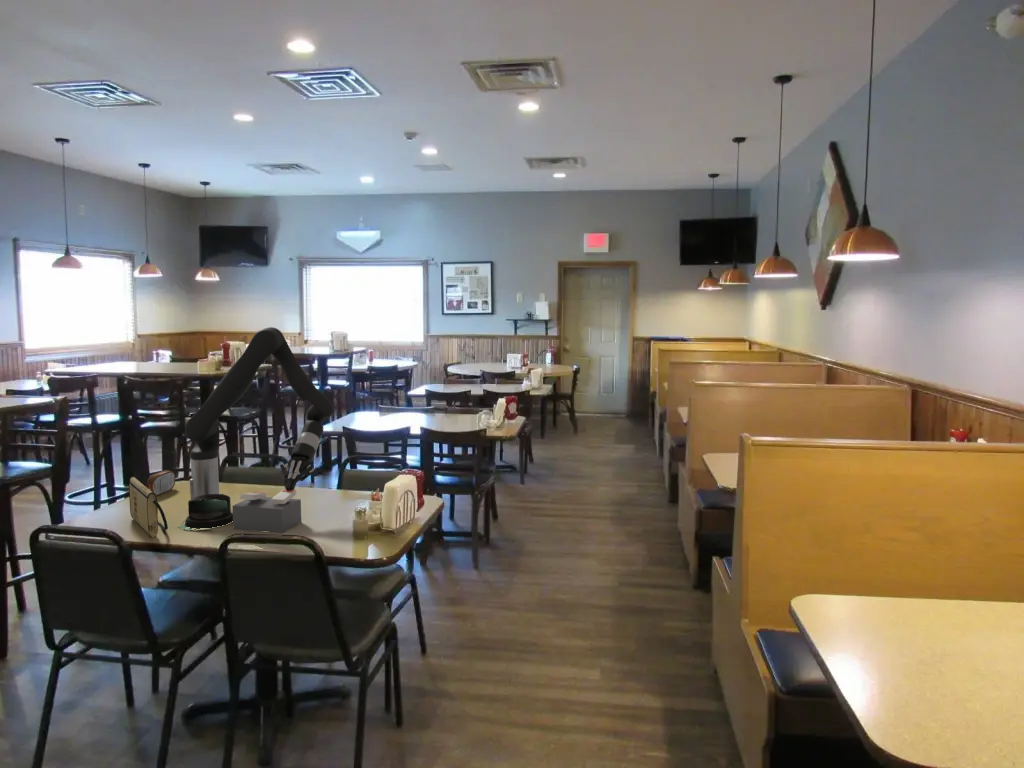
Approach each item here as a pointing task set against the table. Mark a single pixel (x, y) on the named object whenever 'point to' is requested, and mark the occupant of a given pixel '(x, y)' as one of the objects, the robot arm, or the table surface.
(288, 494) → the right rocker
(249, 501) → the switch box
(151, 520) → the clutch purse
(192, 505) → the dark green hat
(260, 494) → the left rocker
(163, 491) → the tin
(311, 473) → the robot arm
